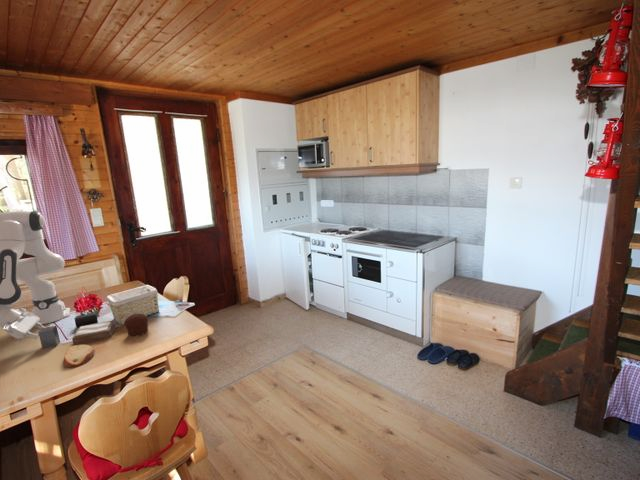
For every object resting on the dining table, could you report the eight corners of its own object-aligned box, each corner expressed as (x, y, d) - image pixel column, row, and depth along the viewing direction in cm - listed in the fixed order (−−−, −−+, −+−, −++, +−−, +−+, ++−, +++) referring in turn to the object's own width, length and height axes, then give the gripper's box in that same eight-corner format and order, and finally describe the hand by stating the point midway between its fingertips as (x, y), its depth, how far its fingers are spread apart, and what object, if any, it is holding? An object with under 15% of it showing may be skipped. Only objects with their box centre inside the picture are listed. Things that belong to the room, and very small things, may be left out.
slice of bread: (76, 347, 166) (74, 340, 165) (108, 347, 164) (107, 340, 163) (42, 368, 149) (40, 360, 148) (78, 369, 146) (76, 361, 146)
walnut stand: (80, 334, 180) (79, 326, 179) (114, 327, 186) (113, 319, 185) (73, 345, 167) (71, 337, 166) (110, 337, 173) (108, 329, 172)
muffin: (122, 339, 171) (118, 321, 169) (130, 329, 182) (127, 312, 180) (146, 336, 173) (143, 318, 171) (153, 326, 183) (150, 309, 181)
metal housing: (46, 344, 171) (41, 328, 169) (60, 341, 173) (56, 325, 171) (42, 349, 166) (38, 332, 164) (57, 346, 168) (53, 329, 166)
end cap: (76, 330, 185) (74, 319, 183) (77, 326, 190) (74, 315, 189) (98, 325, 190) (96, 314, 189) (98, 321, 196) (95, 310, 194)
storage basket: (118, 326, 187) (113, 301, 184) (110, 318, 198) (105, 295, 195) (162, 312, 203) (158, 289, 200) (152, 305, 214) (148, 283, 211)
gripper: (6, 322, 152) (37, 336, 158) (24, 306, 171) (52, 320, 176) (-4, 333, 151) (28, 347, 157) (15, 317, 170) (43, 330, 175)
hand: (41, 333), depth 167 cm, fingers open, 8 cm apart
